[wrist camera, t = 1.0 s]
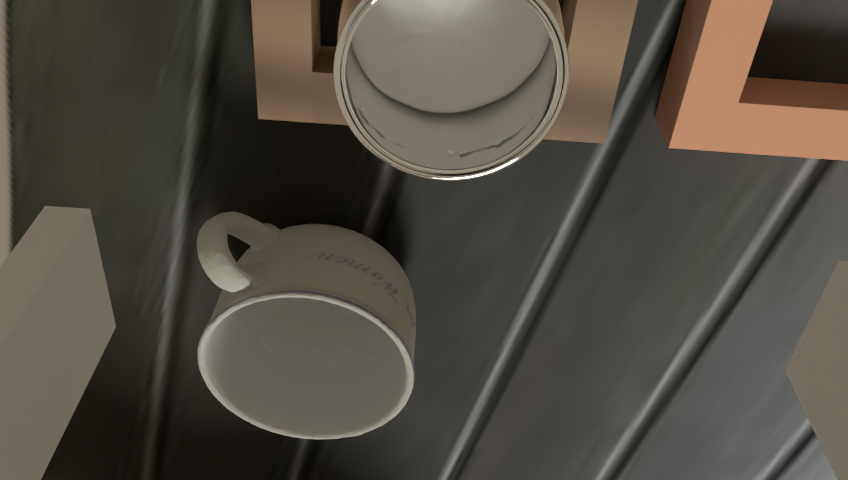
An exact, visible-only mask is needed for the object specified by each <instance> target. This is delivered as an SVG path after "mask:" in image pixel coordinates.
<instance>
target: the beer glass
mask: <svg viewBox="0 0 848 480" xmlns="http://www.w3.org/2000/svg"><path fill="white" fill-rule="evenodd" d="M333 80H334V88H335V93H336V97H337V101H338V104H339V107H340V110H341V112H342V115H343V117H344V119H345V121H346V122H347V124H348V126H349V127H350V129H351V130H352V132H353V133H354V135H355V136H356V137H357V138H358V140H359V141H360V142H361V143H362V144H363V145H364V146H365V147H366V148H367V149H368V150H369V151H370V152H371V153H373V154H374V155H375V156H376V157H378V158H379V159H381V160H382V161H383V162H385V163H387V164H389V165H390V166H392V167H394V168H396V169H398V170H401V171H403V172H405V173H408V174H411V175H414V176H418V177H422V178H427V179H433V180H445V181H456V180H467V179H473V178H478V177H482V176H485V175H489V174H492V173H495V172H497V171H499V170H502V169H504V168H506V167H508V166H510V165H512V164H513V163H515V162H517V161H518V160H520V159H521V158H523V157H524V156H525V155H527V154H528V153H529V152H530V151H531V150H533V149H534V148H535V147H536V146H537V145H538V144H539V143H540V142H541V141H542V139H543V138H544V137H545V136H546V135H547V133H548V132H549V131H550V129H551V128H552V126H553V124H554V123H555V121H556V119H557V117H558V115H559V113H560V111H561V109H562V106H563V104H564V100H565V97H566V93H567V89H568V83H569V55H568V49H567V44H566V41H565V34H564V26H563V19H562V13H561V8H560V4H559V0H342V3H341V8H340V13H339V19H338V29H337V41H336V50H335V55H334V63H333Z"/></svg>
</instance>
